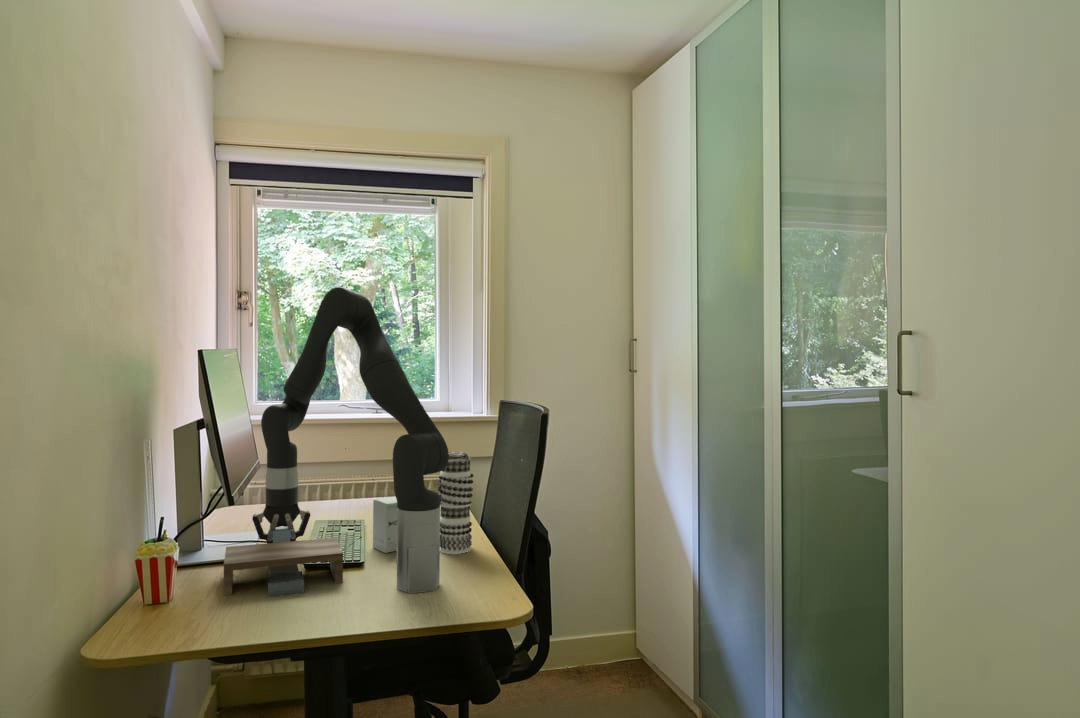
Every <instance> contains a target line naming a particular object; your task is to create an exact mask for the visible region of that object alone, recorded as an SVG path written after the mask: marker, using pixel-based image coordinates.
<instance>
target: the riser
mask: <svg viewBox="0 0 1080 718" xmlns="http://www.w3.org/2000/svg"><path fill="white" fill-rule="evenodd" d="M329 561H330V566H329V568H330V571H331V575H332V577H333V579H334V582H335V584H342V583H344V582H343V581H344V579H343V578H344V577H343V576H344V552H343V551H342V550H341V547H340V545H339V543H338V541H337V538H332V537H326V538H316V539H304V540H296V541H290V542H278V543H267V542H266V543H256V544H247V545H246V544H245V545H233V546H226V547H225V552H224V560H223V596H229V595H233V581H234V580H233V579H234V571H240V570H241V571H242V570H244V571H245V570H252V569H253V570H254V569H263V568H269V567H275V566H285V565H295V564H298V565H303V564H304V565H306V564H313V563H314V564H315V563H325V562H329Z"/></svg>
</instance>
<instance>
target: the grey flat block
mask: <svg viewBox="0 0 1080 718" xmlns="http://www.w3.org/2000/svg"><path fill="white" fill-rule="evenodd" d="M304 593H305V580H304V574H303V570H299V571H296V572H286V573H276V574H269V573H268V574H267V597H268V598H274V597H275V598H276V597H283V596H293V595H303V594H304Z"/></svg>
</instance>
